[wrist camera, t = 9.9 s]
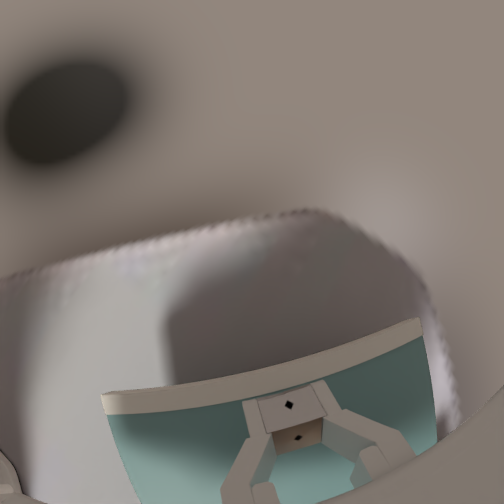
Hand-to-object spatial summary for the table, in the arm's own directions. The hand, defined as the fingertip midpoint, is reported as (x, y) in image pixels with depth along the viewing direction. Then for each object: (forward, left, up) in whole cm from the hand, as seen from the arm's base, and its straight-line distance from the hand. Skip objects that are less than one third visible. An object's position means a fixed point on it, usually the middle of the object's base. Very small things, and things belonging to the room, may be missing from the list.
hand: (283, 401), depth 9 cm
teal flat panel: (+9, -9, -5) cm, 14 cm away
